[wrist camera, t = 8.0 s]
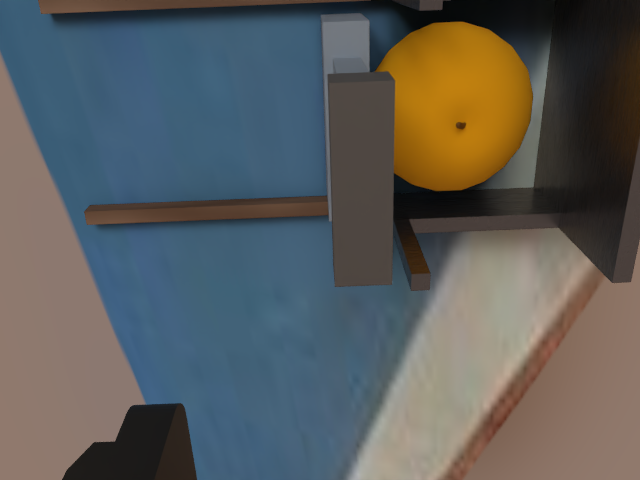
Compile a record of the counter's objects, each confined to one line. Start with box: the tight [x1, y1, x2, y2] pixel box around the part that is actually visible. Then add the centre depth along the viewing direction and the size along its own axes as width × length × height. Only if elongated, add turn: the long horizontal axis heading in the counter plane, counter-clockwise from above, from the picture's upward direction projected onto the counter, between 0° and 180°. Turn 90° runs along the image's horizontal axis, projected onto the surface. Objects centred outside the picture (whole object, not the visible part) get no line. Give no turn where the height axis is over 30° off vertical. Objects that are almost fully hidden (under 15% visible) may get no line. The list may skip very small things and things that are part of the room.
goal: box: [391, 0, 640, 291], centre depth 27 cm, size 12×9×10 cm
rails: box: [38, 0, 369, 225], centre depth 31 cm, size 12×17×1 cm
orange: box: [375, 22, 533, 191], centre depth 28 cm, size 8×8×8 cm
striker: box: [321, 13, 395, 287], centre depth 25 cm, size 9×2×14 cm, turn 2°
